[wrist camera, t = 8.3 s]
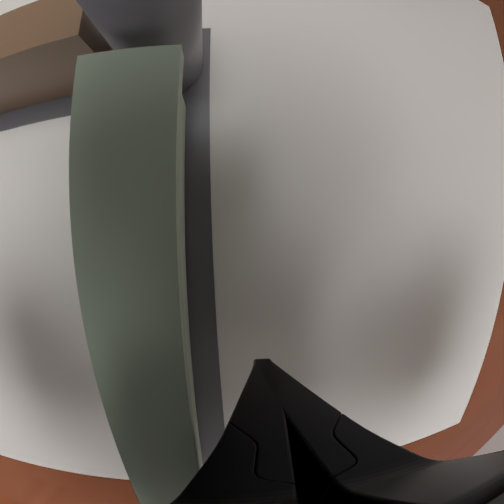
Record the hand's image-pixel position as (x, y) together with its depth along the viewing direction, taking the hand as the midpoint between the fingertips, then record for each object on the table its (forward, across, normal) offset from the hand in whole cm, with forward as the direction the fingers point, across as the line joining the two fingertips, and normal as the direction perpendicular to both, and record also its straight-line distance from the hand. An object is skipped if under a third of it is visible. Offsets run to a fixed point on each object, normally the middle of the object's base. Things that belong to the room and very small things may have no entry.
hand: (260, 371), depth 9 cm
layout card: (+2, +2, -4) cm, 4 cm away
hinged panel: (+1, +3, -1) cm, 3 cm away
